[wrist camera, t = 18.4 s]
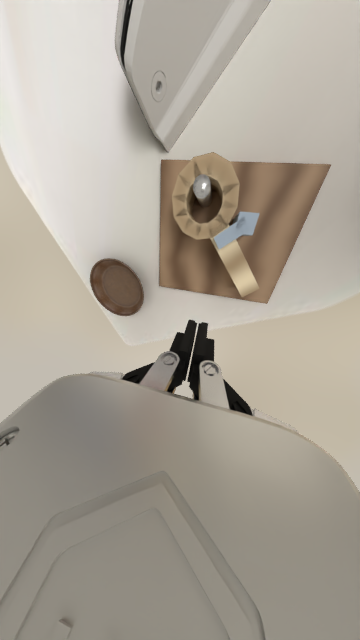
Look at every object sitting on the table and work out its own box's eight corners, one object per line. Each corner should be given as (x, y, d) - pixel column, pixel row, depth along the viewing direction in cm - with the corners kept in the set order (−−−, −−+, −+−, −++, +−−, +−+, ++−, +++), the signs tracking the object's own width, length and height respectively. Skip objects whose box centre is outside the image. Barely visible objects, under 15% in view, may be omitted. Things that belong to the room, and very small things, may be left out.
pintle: (213, 192, 24) (211, 174, 17) (210, 208, 25) (208, 197, 18) (200, 191, 24) (194, 173, 17) (198, 207, 25) (192, 196, 19)
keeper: (247, 220, 25) (259, 213, 18) (239, 249, 27) (247, 252, 20) (218, 217, 25) (218, 209, 18) (212, 246, 28) (211, 248, 21)
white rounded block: (166, 155, 23) (116, 73, 14) (151, 132, 23) (93, 37, 14) (274, -6, 15) (315, -422, 6) (251, -39, 15) (257, -491, 6)
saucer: (87, 261, 36) (79, 263, 34) (138, 252, 32) (132, 254, 30) (110, 312, 43) (104, 316, 41) (153, 310, 39) (149, 315, 37)
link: (171, 203, 25) (160, 194, 20) (217, 156, 21) (217, 130, 16) (224, 294, 31) (225, 305, 26) (267, 271, 27) (279, 278, 22)
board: (326, 167, 20) (331, 164, 19) (265, 301, 31) (267, 303, 30) (163, 162, 23) (161, 159, 23) (160, 284, 34) (159, 285, 33)
